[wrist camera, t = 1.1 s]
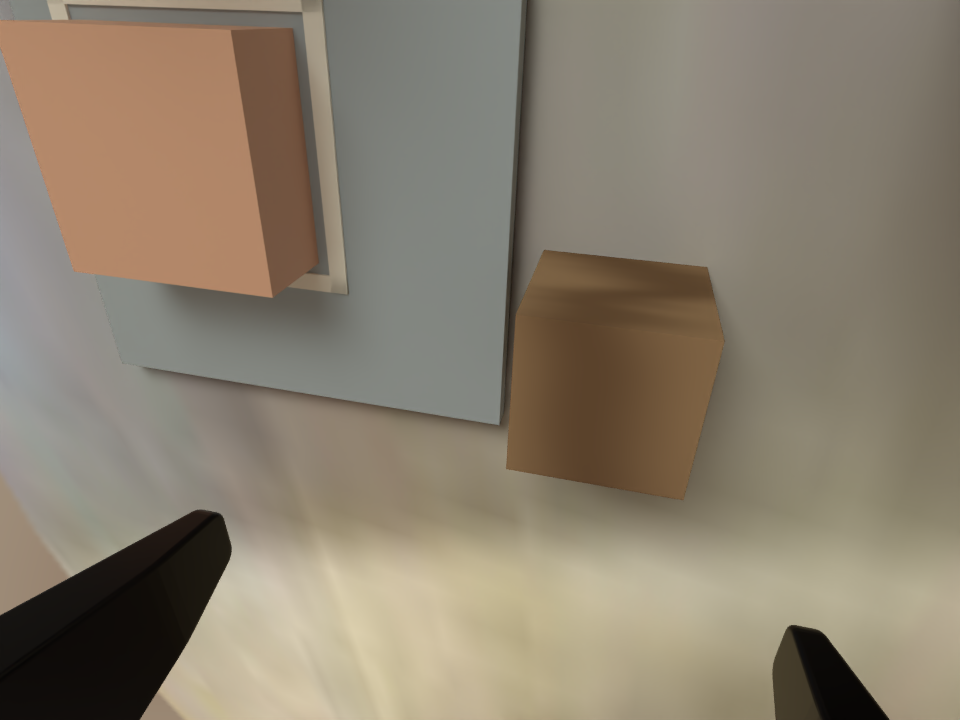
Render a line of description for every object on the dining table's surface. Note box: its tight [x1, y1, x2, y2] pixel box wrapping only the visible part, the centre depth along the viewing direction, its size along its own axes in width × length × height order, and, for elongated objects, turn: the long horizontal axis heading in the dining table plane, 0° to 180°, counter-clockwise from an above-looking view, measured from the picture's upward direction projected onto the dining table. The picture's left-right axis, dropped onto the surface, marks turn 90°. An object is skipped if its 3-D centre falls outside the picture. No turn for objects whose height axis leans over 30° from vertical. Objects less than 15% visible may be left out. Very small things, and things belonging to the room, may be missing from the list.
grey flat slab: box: [9, 0, 527, 425], centre depth 20 cm, size 16×14×1 cm
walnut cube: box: [506, 250, 725, 500], centre depth 18 cm, size 5×5×5 cm
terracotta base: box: [0, 20, 319, 298], centre depth 18 cm, size 7×7×3 cm
